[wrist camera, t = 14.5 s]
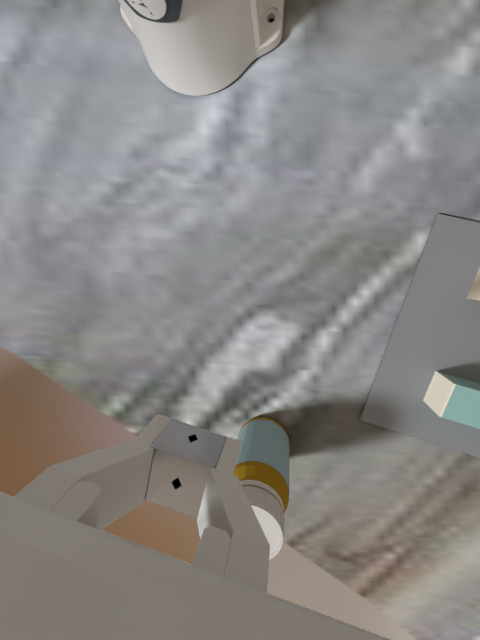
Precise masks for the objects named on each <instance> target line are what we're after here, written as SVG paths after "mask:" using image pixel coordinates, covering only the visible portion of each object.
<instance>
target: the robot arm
mask: <svg viewBox="0 0 480 640" xmlns="http://www.w3.org/2000/svg"><path fill="white" fill-rule="evenodd" d="M118 1H119V3H120V5H121V8H120V9H121V14H122V16H123V18H124V20H125V22H126V24H127V26H128V27H129V28H130V30H131V31H132V32H133V33H134V34H135V35H136V36H137V38H138V39H139V42H140V44H141V46H142V49H143V51H144V54H145V57H146V59H147V61H148V64H149V66H150V67H151V69H152V71H153V72H154V74H155V75H156V76H157V77H158V78H159V79H160V81H161V82H163V83H164V84H165V85H166V86H168V87H169V88H171V89H172V90H174V91H176V92H179V93H182V94H186V95H193V96H200V95H207V94H211V93H214V92H217V91H219V90H221V89H223V88H225V87H227V86H228V85H229V84H231V83H232V82H233V81H235V80H236V79H237V78H238V77H239V76H240V75H241V74H242V73H243V72H244V70H245V69H246V68H247V67H248V66H249V65H250V64H251V63H252V62H253V61H254V60H255V59H256V58H258V57H260V56H262V55H264V54H266V53H267V52H269V51H271V50H272V49H274V48H275V47H276V46H277V45H278V44H279V43H280V41H281V38H282V32H283V18H284V3H285V0H118ZM270 19H274V21H273V22H271V23H270V22H268V21H269V20H270ZM241 443H242V442H241V440H237V439H234V438H230V437H225V436H222V435H219V434H216V433H212V432H209V431H206V430H202V429H199V428H197V427H195V426H192V425H189V424H186V423H183V422H180V421H177V420H174V419H171V418H168V417H165V416H162V415H157V416H155V417H154V419H153V420H152V421H151V422H150V423H149V424H148V425H147V426H146V428H145V429H144V430H143V431H142V432H141V433H140V434H139V436H138V437H137V438H136V439H135V440H134V441H130V440H128V441H125V442H122V443H119V444H116V445H113V446H110V447H107V448H104V449H101V450H98V451H95V452H92V453H88V454H85V455H83V456H79V457H76V458H73V459H70V460H67V461H64V462H61V463H58V464H55V465H52V466H49V467H48V468H47V469H46V470H45V471H44V472H42V473H41V474H40V475H39V476H38V477H37V478H35V479H34V480H33V481H32V482H30V483H29V484H28V485H27V486H26V487H25V488H23V489H22V490H21V491H20V492H19V493H17V494H16V495H15V496H14V497H12V496H10V495H7V494H5V493H2V492H0V640H390V639H387V638H384V637H381V636H379V635H377V634H374V633H371V632H369V631H366V630H363V629H360V628H358V627H355V626H353V625H350V624H347V623H344V622H342V621H339V620H337V619H334V618H332V617H329V616H326V615H324V614H321V613H318V612H316V611H313V610H310V609H308V608H305V607H302V606H300V605H297V604H294V603H292V602H289V601H286V600H284V599H281V598H278V597H276V596H273V595H270V594H268V593H267V581H268V567H269V553H270V545H269V543H268V541H267V538H266V536H265V534H264V532H263V530H262V528H261V526H260V524H259V521H258V519H257V517H256V515H255V513H254V511H253V509H252V507H251V504H250V502H249V500H248V498H247V496H246V494H245V492H244V490H243V487H242V485H241V483H240V481H239V479H238V477H237V476H234V475H233V473H234V469H235V466H236V462H237V458H238V455H239V451H240V447H241ZM144 500H146V501H149V502H152V503H155V504H159V505H161V506H165V507H168V508H171V509H173V510H176V511H178V512H181V513H183V514H186V515H188V516H191V517H194V518H196V519H197V523H198V529H199V534H200V539H201V540H200V543H199V546H198V549H197V552H196V555H195V558H194V561H193V564H189V563H187V562H184V561H182V560H179V559H176V558H174V557H171V556H168V555H166V554H163V553H161V552H158V551H155V550H152V549H150V548H147V547H145V546H142V545H139V544H137V543H134V542H131V541H129V540H126V539H124V538H121V537H118V536H116V535H113V534H110V533H108V532H105V531H102V529H103V528H105V527H106V526H108V525H109V524H111V523H113V522H114V521H115V520H117V519H119V518H120V517H122V516H123V515H125V514H126V513H128V512H129V511H131V510H132V509H134V508H135V507H137V506H138V505H140V504H141V503H143V502H144Z"/></svg>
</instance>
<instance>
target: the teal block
mask: <svg viewBox="0 0 480 640" xmlns="http://www.w3.org/2000/svg"><path fill="white" fill-rule="evenodd" d="M423 401H424V402H425V403H426V404H427V405H428V406H429V407H430V408H431V409H432V410H433V411H434V412H435V413H436V414H437V415H438V416H439V417H442V418H445V419H448V420H452V421H455V422H458V423H462V424H465V425H468V426H472V427H475V428H479V429H480V383H477V382H474V381H470V380H467V379H463V378H460V377H456V376H452V375H449V374H445V373H442V372H438V371H435V373H434V376H433V378H432V380H431V383H430V385H429V388H428V390H427V392H426V395H425V397H424V399H423Z"/></svg>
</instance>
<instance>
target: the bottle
mask: <svg viewBox="0 0 480 640" xmlns="http://www.w3.org/2000/svg"><path fill="white" fill-rule="evenodd" d="M237 440H241V442H242V443H241V447H240V451H239V455H238V458H237V462H236V466H235V469H234V473H233V475H234V476H237V477H238V479H239V481H240V483H241V485H242V487H243V490H244V492H245V494H246V496H247V498H248V500H249V502H250V504H251V507H252V509H253V511H254V513H255V515H256V517H257V519H258V521H259V524H260V526H261V528H262V530H263V532H264V534H265V536H266V538H267V541H268V543H269V545H270V553H269V560H270V559H272V558H273V557H274V556H276V555H277V553H278V552H279V550H280V549H281V546H282V543H283V539H284V512H285V510H286V508H287V505H288V501H289V437H288V434H287V432H286V430H285V429H284V428H283V427H282V426H281V424H279V423H278V422H276V421H274V420H272V419H269V418H265V417H260V418H254V419H251V420H249V421H248V422H247V423H245V424H244V425H243V427H242V428H241V430H240V433H239V435H238V439H237Z"/></svg>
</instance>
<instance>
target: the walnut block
mask: <svg viewBox="0 0 480 640" xmlns="http://www.w3.org/2000/svg"><path fill="white" fill-rule="evenodd" d="M467 299H471V300H475V301H479V302H480V268H479V270H478V272H477V275H476V277H475V279H474V282H473V284H472V286H471V289H470V291H469V293H468V296H467Z"/></svg>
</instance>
